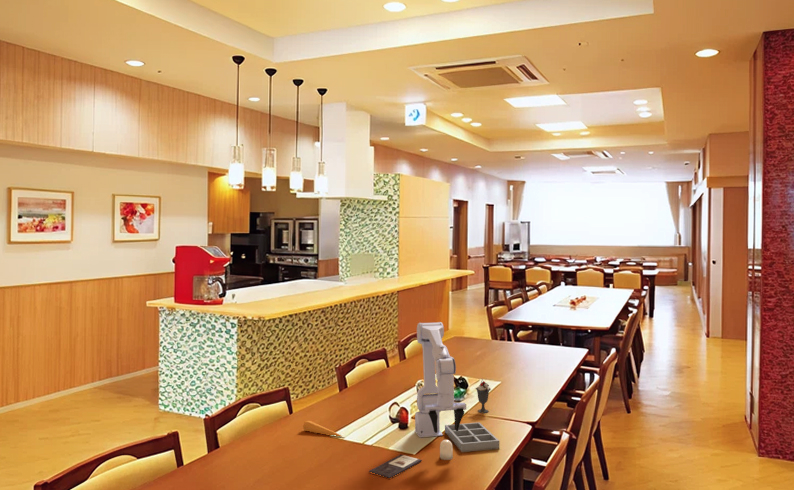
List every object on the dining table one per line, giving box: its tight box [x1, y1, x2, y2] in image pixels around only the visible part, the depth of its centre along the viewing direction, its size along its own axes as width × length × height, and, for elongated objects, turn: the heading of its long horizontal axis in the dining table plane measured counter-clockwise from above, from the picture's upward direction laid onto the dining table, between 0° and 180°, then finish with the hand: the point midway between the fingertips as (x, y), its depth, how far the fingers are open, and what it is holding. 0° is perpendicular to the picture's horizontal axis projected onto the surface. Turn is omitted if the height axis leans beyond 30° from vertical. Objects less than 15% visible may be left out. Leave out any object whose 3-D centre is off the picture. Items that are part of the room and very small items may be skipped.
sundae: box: [475, 379, 492, 414], centre depth 258 cm, size 7×7×15 cm
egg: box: [439, 439, 454, 461], centre depth 206 cm, size 4×4×6 cm
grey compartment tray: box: [444, 421, 500, 453], centre depth 222 cm, size 14×21×3 cm
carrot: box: [302, 420, 342, 436], centre depth 231 cm, size 20×4×4 cm, turn 61°
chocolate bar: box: [368, 453, 423, 479], centre depth 198 cm, size 9×1×18 cm
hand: (446, 430), depth 206 cm, fingers open, 7 cm apart
